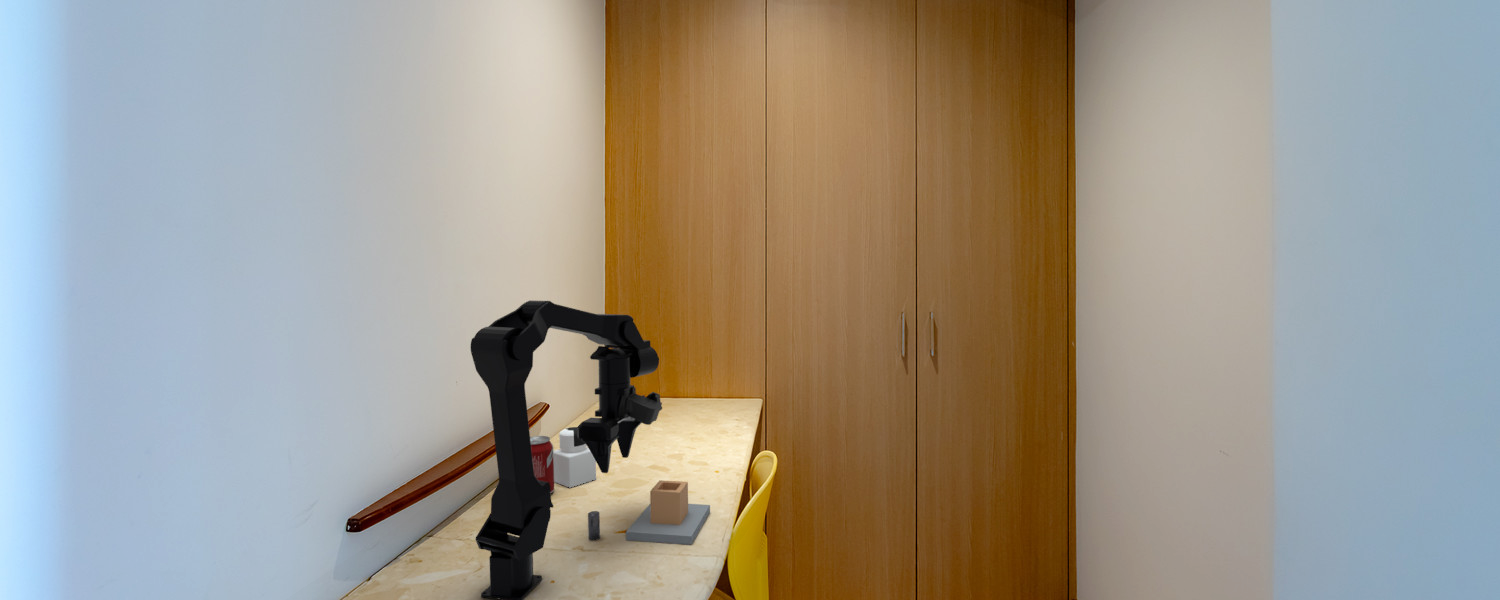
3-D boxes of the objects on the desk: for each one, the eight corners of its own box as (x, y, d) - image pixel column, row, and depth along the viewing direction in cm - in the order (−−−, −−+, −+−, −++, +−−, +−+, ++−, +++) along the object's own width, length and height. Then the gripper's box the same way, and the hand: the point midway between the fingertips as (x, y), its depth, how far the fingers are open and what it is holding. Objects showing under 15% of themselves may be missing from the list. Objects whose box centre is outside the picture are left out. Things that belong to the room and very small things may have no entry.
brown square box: (680, 524, 108) (679, 492, 108) (650, 523, 109) (650, 491, 108) (688, 512, 113) (687, 481, 113) (660, 510, 114) (659, 480, 114)
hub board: (691, 544, 103) (691, 513, 103) (626, 540, 105) (625, 509, 105) (710, 512, 117) (709, 485, 117) (651, 508, 119) (651, 482, 119)
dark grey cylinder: (597, 540, 105) (596, 515, 105) (586, 540, 105) (586, 515, 105) (601, 535, 107) (601, 511, 107) (591, 535, 107) (590, 510, 107)
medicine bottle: (578, 473, 141) (577, 423, 140) (596, 479, 136) (595, 428, 136) (551, 481, 135) (550, 429, 135) (569, 488, 131) (568, 435, 130)
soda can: (543, 501, 123) (542, 444, 123) (514, 499, 125) (512, 443, 124) (560, 489, 130) (558, 435, 129) (532, 487, 131) (531, 434, 131)
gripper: (636, 392, 99) (637, 484, 100) (672, 374, 118) (672, 452, 118) (575, 390, 101) (576, 480, 102) (619, 373, 120) (620, 449, 120)
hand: (615, 464), depth 110 cm, fingers open, 9 cm apart
